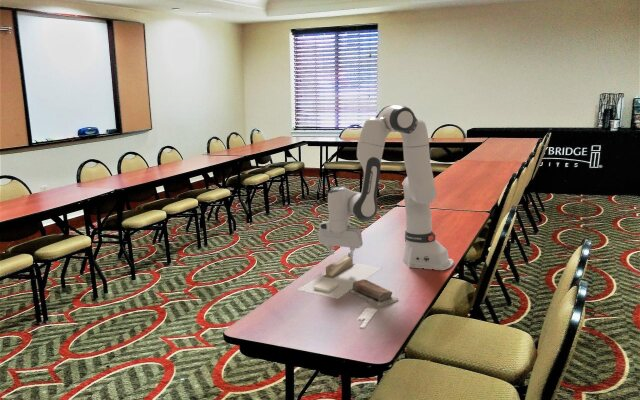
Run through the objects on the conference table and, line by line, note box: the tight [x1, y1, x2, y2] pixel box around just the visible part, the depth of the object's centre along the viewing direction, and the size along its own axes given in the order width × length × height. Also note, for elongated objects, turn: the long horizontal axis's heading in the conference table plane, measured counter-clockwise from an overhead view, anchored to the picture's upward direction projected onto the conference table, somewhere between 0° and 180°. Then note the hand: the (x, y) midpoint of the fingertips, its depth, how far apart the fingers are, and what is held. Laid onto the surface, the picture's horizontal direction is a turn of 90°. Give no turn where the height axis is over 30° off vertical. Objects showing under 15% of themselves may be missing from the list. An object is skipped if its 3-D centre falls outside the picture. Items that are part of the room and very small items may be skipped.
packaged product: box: [348, 279, 399, 308], centre depth 199 cm, size 18×5×10 cm
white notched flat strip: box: [356, 307, 378, 330], centre depth 181 cm, size 5×15×1 cm, turn 157°
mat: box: [296, 262, 382, 300], centre depth 218 cm, size 19×38×1 cm, turn 148°
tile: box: [314, 280, 339, 293], centre depth 208 cm, size 7×1×8 cm
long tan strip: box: [325, 254, 354, 277], centre depth 227 cm, size 3×18×4 cm, turn 148°
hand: (341, 255), depth 226 cm, fingers open, 8 cm apart
